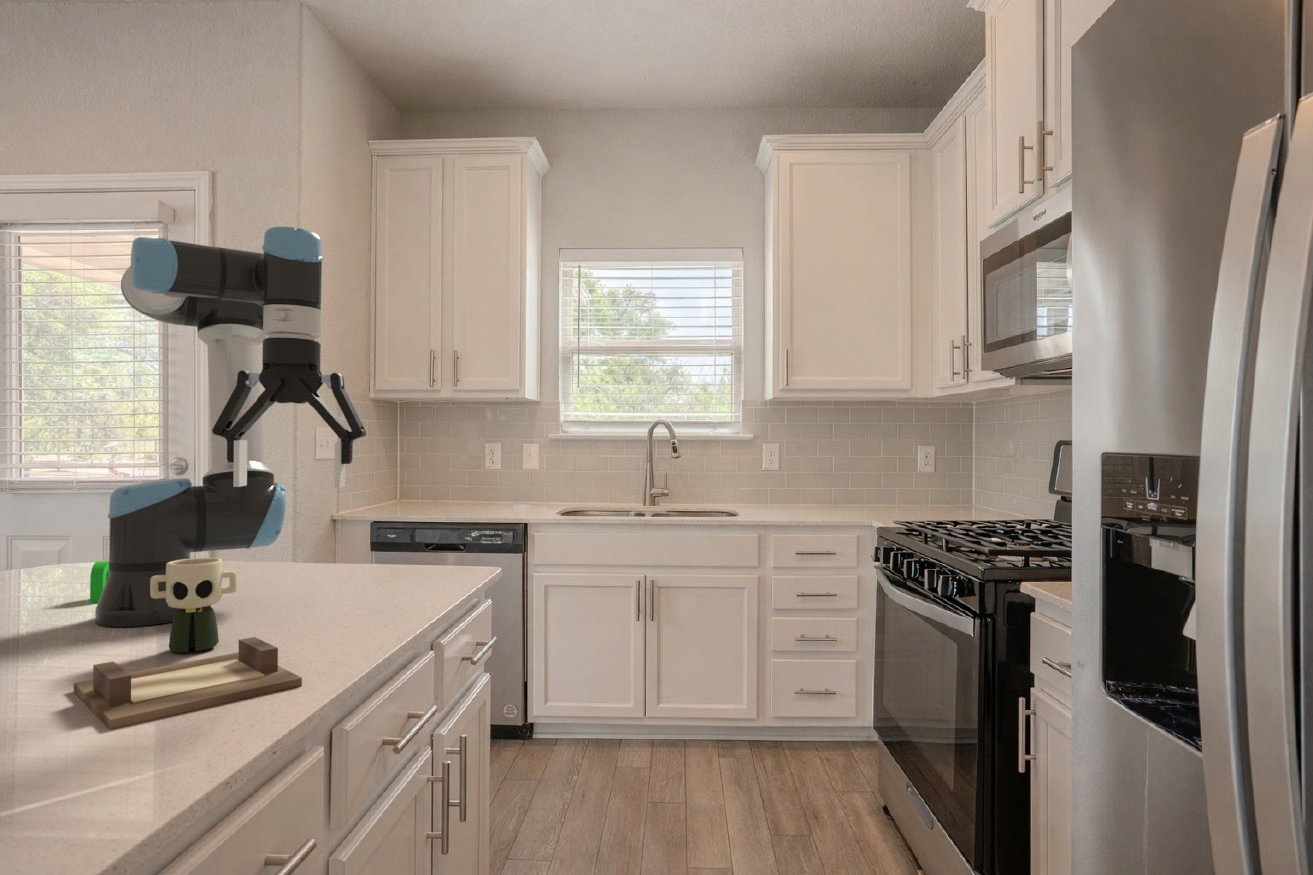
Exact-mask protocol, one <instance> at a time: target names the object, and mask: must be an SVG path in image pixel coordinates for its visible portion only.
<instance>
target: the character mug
mask: <svg viewBox="0 0 1313 875" xmlns="http://www.w3.org/2000/svg"><path fill="white" fill-rule="evenodd" d="M237 575H238V574H237V571H234V570H224V571H223V559H221V558H217V557H195V558H191V557H190V559H182V560H176V561H171V562H168V563H166V575H156V576H153V577H151V580H150V595H151V598H155V599H157V598H166V602H167V604H168V605H169V607H173V608H178V610H177V611H176V612H175V614H174V616H173V621H172V623H171V626H170V627H171V628H170V634H169V642H168V648H169V650H170V652H175V653H180V652H182V653H187V652H189V647H194V650H195V651H202V650H203V651H204V650H208V649H210V648H213V647H216V646H217V645H218V644H219V643H220V639H219V631H218V623H217V616H216V613H215V609H213V607H212V605H215V604H217V603H219V602H220V601H221V600H222V597H223V595H225V594H233V593H236V592H237V588H238V583H237V582H238V581H237V580H238V576H237ZM226 578H228V579H229V580H228V581H229V584H228V585H229V586H223V579H226ZM158 582H166V591H161V592H159V591H158Z"/></svg>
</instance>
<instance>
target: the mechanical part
mask: <svg viewBox="0 0 1313 875" xmlns="http://www.w3.org/2000/svg"><path fill="white" fill-rule="evenodd" d="M108 575H109V560H101V561H100V560H99V561H95V562H94V564H93V565H92V567H91V571H90V577H89V578H90V581H89V582H90V583H89V584H90V585H89V586H90V588H89V604H98V602H99V599H100V597H101V594H102V591H103V589H104V586H105V584H106V581H107V578H108Z"/></svg>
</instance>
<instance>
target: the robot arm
mask: <svg viewBox="0 0 1313 875" xmlns="http://www.w3.org/2000/svg"><path fill="white" fill-rule="evenodd" d="M263 236H264V237H263V245H262V248H261V249H262V251H263V253H262V252H255V251H249V250H242V249H241V250H240V249H234V248H225V247H218V246H217V247H216V246H209V245H203V244H202V245H201V244H196V243H190V242H185V241H184V242H183V241H177V240H171V239H167V238H165V237H163V238H162V237H156V238H153V237H145V236H140V237H139V236H138V237H136V238H135V239H134V240H133V241H132V246H131V251H130V266H129V267H127V269H126V270H125V271H124V273H123V275H122V277H121V279H120V287H121V288H120V290H121V294H122V296H123V298H124V300H125V301H126V302H127V303H128V304H129V305H130V307H131V308H133V309H134V310H136V311H137V312H138V313H140V314H142V315H145V316H146V317H149V318H151V319H153V320H155V321H156V320H157V321H159V322H162V323H166V324H171V325H178V326H186V327H187V326H188V327H196V330H197V338H198V339H199V340H200V341H201V342H203V343H204V344H205V345H206V347H207V364H208V365H207V366H208V367H207V368H208V369H207V371H208V396H209V397H208V398H209V399H208V401H209V420H210V421H209V426H210V448H211V449H210V450H211V451H210V453H211V456H210V458H211V468H210V469H209V470H207V472H206V473H205V474H203V476H202V485H199V486H198V485H193V486H192V484H193V483H192V482H191V480H190V479H189V478H188V477H187V478H182V477H181V478H173V479H162V480H155V481H147V482H140V483H135V484H130V485H129V484H128V485H125V486H121V487H118V488H116V489H114V490H113V491H112V493H111V494H110V497H109V512H108V514H107V518H108V519H109V533H108V534H109V535H108V536H109V539H108V540H109V542H108V543H109V544H108V546H109V547H108V561H109V575H108V578H107V581H106V584H105V586H104V589H103V591H102V594H101V597H100V599H99V602H98V603H96V604H97V605H96V607H95V615H94V616H95V619H94V620H95V624H97V625H98V626H99V625H100V626H104V627H115V628H117V627H119V628H120V627H121V628H122V627H124V628H125V627H141V626H142V627H143V626H150V625H151V626H152V625H160V624H166V623H167V624H168V623H171V622H172V621H173V616H174V614H175V612H176V611H177V610H178V608H173V607H169V605H168V604H167V602H166V598H157V599H155V598H151V595H150V580H151V577H153V576H156V575H166V563H168V562H171V561H176V560H182V559H191V553H199V552H200V553H201V552H210V551H211V552H212V551H213V552H214V551H223V550H224V551H225V550H239V549H241V550H242V549H246V550H250V549H254V548H260V547H268V546H271V545H273V544H274V543H275V542H276V541H277V540H278V539H279V536H280V535H281V532H282V528H283V525H284V520H285V516H286V507H287V506H286V505H287V504H286V503H287V493H286V487H285V485H284V484H282V483H279V482H276V483H275V473H274V472H273V471H272V470H270V468H268V467H267V466H266V465H265V453H264V451H265V448H264V433H263V432H264V430H263V415H264V414H265V412H267V410H269V408H270V407H272V406H273V405H274V404H275V403H277V404H292V403H293V404H300V405H304V404H307V403H308V405H309V406H311V407H312V408H313V409H314V410H315V411H316V412H317V413H318V415H319V416H320V417H321V418H322V419H323V421H324V422H325V423H326V424H327V425H328V426H329V428H330V429H331V430H332V431H333V432H334V434H335V435H336V436H337V437H338V438H339V439H340V440H339V441H335V442H334V480H333V481H334V482H333V485H334V486H333V487H334V488H335V489H338V488H344V487H346V465H350V464H352V462H353V453H354V452H353V443H354V441H356V440H358V439H361V438H364V437H366V436H367V431H366V428H365V426H364V425H363V422H362V420H361V419H360V417H359V415H358V413H357V410H356V408H355V407H354V405H353V403H352V401H351V398H350V396H349V395H348V392H347V391H346V387H345V378H344V376H343V374H341V373H337V372H332V373H330V374H322V371H321V348H322V346H321V343H320V342H319V341H318V340H317V339H319V338H320V337H321V336H322V312H321V311H322V308H321V307H322V276H323V274H322V270H323V269H322V268H323V266H322V265H323V263H322V262H323V261H324V256H323V251H322V239H321V237H320V236H319V235H318V234H317V233H316V232H313V231H311V230H308V229H305V228H301V227H293V226H273V227H272V226H271V227H270V228H268V229H267V230H265V232H264V235H263ZM260 345H262V357H261V358H262V369H261V371H260V353H259V352H260V351H259V346H260ZM323 384H325V385H326V387H327V388H328V389H330V390H331V391H332V394H333V396H334V398H335V400H336V402H337V405H338V406H339V409H340V410H341V413H342V414H343V417H344V418H345V420H346V422H347V424H348V426H349V428H350V430H351V431H350V430H349V429H348V427H346V425H345V424H344V423H343V421H342V420H341V419H340V418H339V417H338V415H336V413H335V412H334V411H333V409H331V408H330V407H329V405H328V404H327V402H325V399H323V397H322V396H321V395H320V394H319V393H318V391H319V390H320V388H321V387H322V385H323ZM261 385H262V387H263V388H264V390H263V391H262V392H261ZM158 591H159V592H161V591H166V582H158Z"/></svg>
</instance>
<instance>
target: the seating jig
mask: <svg viewBox="0 0 1313 875" xmlns="http://www.w3.org/2000/svg"><path fill="white" fill-rule="evenodd" d="M92 666H93V669H92V671H93V675H92V676H93V678H92V679H88V680H82V681H77V682H73V692H74V693H75V694H76V696H78V697H79V698H80V699H81V700H82V701H83V703H84V705H85V704H86V705H87V707H88V708H89V709H90V710H91V711H92V712H93V713H94V714H95V715H96V716H97V718H98V719H100V721H102V723H103V724H104V725H106V727H108V729H109V730H112V729H117V728H122V727H126V726H130V725H135V724H139V723H144V722H147V721H153V720H157V719H162V718H166V717H171V716H175V715H179V714H183V713H189V712H192V711H196V710H201V709H206V708H210V707H215V706H218V705H219V706H220V705H223V704H227V703H231V702H236V701H241V700H246V699H249V698H253V697H259V696H263V695H267V694H271V693H276V692H280V691H285V690H288V689H294V688H298V687H299V688H300V687H302V686H303V677H301V676H300V675H297V674H295V673H294V672H292V671H290V670H287V669H286V668H284V667H282V666H279V648H278V647H277V646H274V645H273V644H270V643H269V642H266V641H264V640H262V639H260V638H258V637H256V636H253V637H252V636H251V637H247V638H241V639H238V652H235V653H234V652H233V653H229V654H223V655H217V656H212V657H207V658H201V659H196V660H190V661H184V662H180V663H174V664H170V665H169V664H168V665H164V666H163V665H162V666H159V667H157V666H156V667H153V668H146V669H142V670H137V671H131V672H128V671H127V670H125V669H124V668H123V667H121V666H120V665H119V664H117V663H116V662H115V661H109V662H102V663H96V664H93V665H92Z"/></svg>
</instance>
